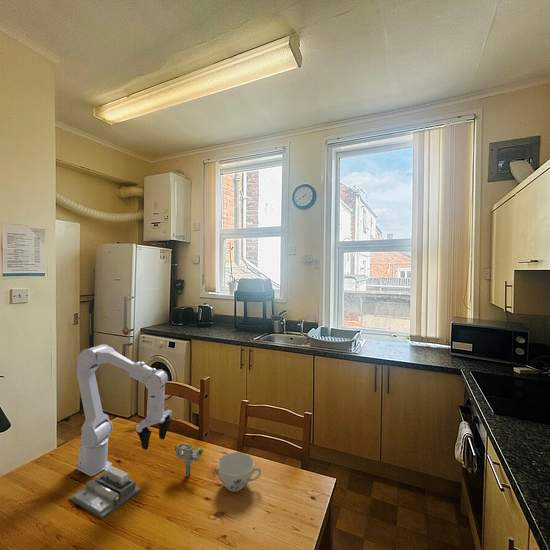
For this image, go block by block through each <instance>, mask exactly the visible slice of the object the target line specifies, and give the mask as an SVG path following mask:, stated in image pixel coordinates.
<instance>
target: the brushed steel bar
mask: <svg viewBox="0 0 550 550" xmlns="http://www.w3.org/2000/svg"><path fill="white" fill-rule="evenodd" d="M103 474H104V477H103V481H105V482H107V483H109V484H111V485H113V486H115V487H117V488H119V489H123V488H124V487H126V486H127V485H128V478H129V475H130V474H129V473H128V472H126V471H124V470H122V469H120V468H118V467H115V466H113V465H110V466H108V467H107V468H105V469H104V470H103Z"/></svg>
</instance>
